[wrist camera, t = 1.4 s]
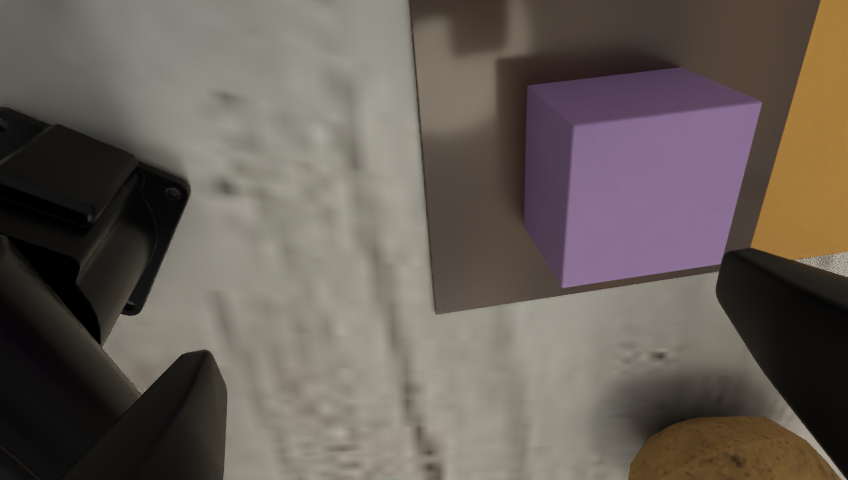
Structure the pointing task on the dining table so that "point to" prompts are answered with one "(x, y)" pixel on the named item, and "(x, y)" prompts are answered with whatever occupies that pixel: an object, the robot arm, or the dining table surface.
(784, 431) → the potato
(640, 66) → the board
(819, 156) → the pad
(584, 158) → the block
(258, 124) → the dining table surface
